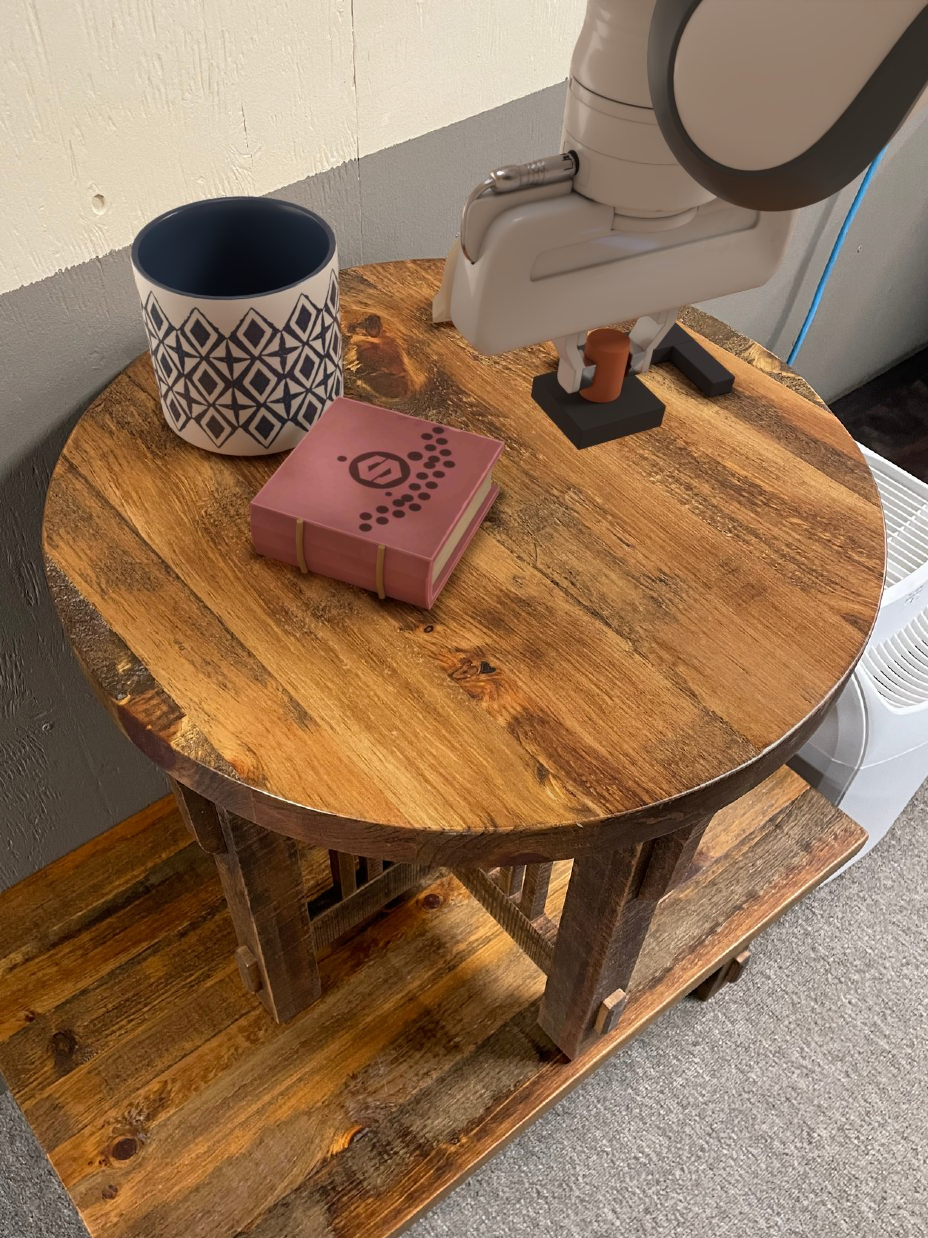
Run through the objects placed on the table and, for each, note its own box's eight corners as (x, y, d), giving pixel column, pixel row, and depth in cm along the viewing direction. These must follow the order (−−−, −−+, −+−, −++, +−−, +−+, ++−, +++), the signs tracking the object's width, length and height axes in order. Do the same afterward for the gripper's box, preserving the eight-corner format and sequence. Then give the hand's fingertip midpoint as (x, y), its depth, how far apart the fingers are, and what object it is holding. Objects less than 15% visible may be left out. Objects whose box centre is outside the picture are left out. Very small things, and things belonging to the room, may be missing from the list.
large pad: (670, 334, 95) (673, 319, 94) (731, 391, 89) (736, 376, 88) (559, 362, 92) (561, 347, 91) (616, 423, 86) (619, 408, 85)
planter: (341, 349, 93) (334, 192, 82) (347, 457, 84) (340, 295, 72) (170, 355, 93) (139, 197, 81) (156, 464, 83) (118, 302, 72)
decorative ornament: (434, 289, 99) (439, 207, 93) (560, 298, 99) (574, 217, 92) (430, 323, 96) (435, 240, 89) (561, 332, 95) (575, 250, 89)
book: (251, 560, 76) (244, 509, 72) (340, 446, 84) (337, 395, 80) (424, 617, 72) (426, 567, 68) (499, 492, 81) (504, 441, 77)
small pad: (610, 374, 65) (624, 303, 62) (661, 426, 62) (680, 354, 58) (530, 396, 64) (539, 325, 60) (578, 450, 61) (591, 378, 57)
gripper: (495, 203, 46) (474, 450, 57) (849, 127, 51) (767, 367, 62) (436, 147, 49) (427, 390, 60) (773, 81, 54) (708, 316, 65)
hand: (602, 377), depth 61 cm, fingers closed on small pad, 2 cm apart
